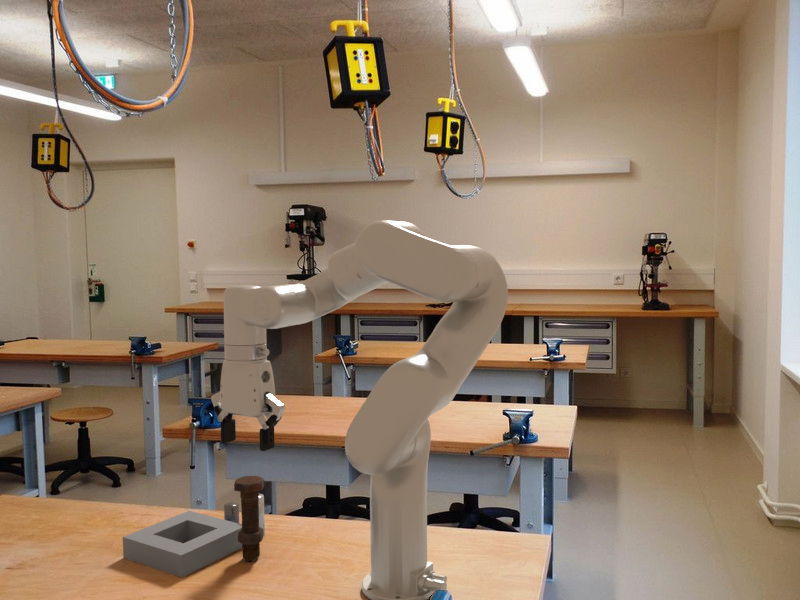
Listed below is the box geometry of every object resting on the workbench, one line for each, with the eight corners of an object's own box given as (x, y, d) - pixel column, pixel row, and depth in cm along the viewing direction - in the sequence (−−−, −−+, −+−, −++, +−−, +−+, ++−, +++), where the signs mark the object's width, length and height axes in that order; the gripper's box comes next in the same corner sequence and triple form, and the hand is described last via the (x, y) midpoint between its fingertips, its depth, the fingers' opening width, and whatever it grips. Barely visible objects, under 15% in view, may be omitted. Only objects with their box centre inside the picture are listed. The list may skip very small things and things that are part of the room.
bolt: (230, 561, 134) (227, 481, 133) (247, 551, 138) (245, 473, 137) (255, 567, 131) (253, 485, 130) (272, 556, 136) (270, 478, 135)
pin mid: (267, 534, 147) (267, 495, 146) (257, 539, 144) (256, 499, 143) (256, 531, 148) (255, 492, 148) (246, 536, 146) (245, 497, 145)
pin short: (242, 527, 150) (241, 503, 150) (232, 532, 148) (231, 508, 147) (232, 524, 152) (231, 501, 152) (221, 529, 149) (220, 505, 149)
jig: (246, 545, 141) (246, 525, 140) (182, 577, 127) (181, 555, 127) (189, 529, 149) (189, 510, 149) (123, 557, 136) (122, 536, 136)
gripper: (295, 354, 131) (297, 447, 132) (226, 347, 140) (228, 434, 141) (267, 359, 124) (268, 457, 126) (196, 352, 134) (198, 443, 135)
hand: (247, 445), depth 133 cm, fingers open, 9 cm apart
